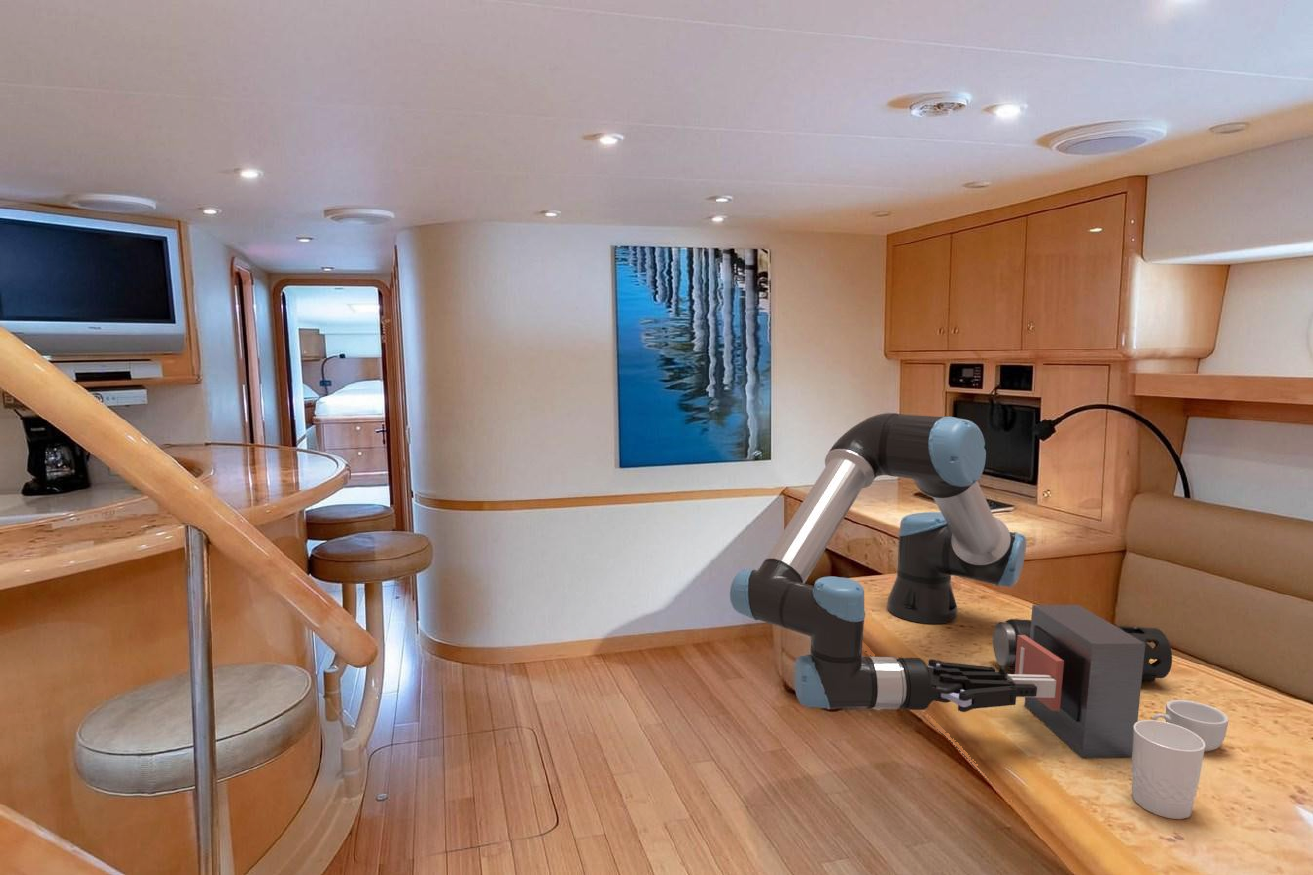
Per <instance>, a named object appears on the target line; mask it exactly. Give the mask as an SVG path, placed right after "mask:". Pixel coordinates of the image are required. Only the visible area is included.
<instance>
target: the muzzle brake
mask: <svg viewBox="0 0 1313 875" xmlns="http://www.w3.org/2000/svg"><path fill="white" fill-rule="evenodd" d="M1115 626H1116V627H1118V628H1119V629H1121V630H1123V631H1125V632H1126V633H1128V634H1130V635H1132V636H1133V637H1135V638H1137V639H1138V640H1140V641H1142V642H1144V643H1145V652H1144V662H1143V672H1142V681H1144V682H1145V681H1146V682H1155V680H1156V679H1164V678H1166V677H1167V676H1168V675H1169V673H1170V671H1171V668H1172V665H1173V664H1172V663H1173V652H1172V647H1171V644H1170V642H1169V639H1168V637H1167V636H1166V634H1165V633H1164V632H1163V631H1162V630H1161V629H1160V628H1157V627H1143V626H1125V625H1124V626H1122V625H1115ZM1030 629H1031V619H1020V618H1019V619H1014V618H1010V619H1007V620H1006V621H1004V622H1003V621H998V622H997V623H996V624H995V626H994V628H993V632H992V647H993V648H992V650H993V653H994V657H995V660H996V662H997V664H998V666H999V667H1002V668H1008V670H1011V671H1012V672H1015V663H1016V651H1017V638H1018V635H1026V636H1027V637H1029V638H1030ZM1150 643H1153V644H1154V646H1151V645H1150ZM1150 660H1154V661H1153V662H1150Z"/></svg>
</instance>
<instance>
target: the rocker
mask: <svg viewBox="0 0 1313 875" xmlns="http://www.w3.org/2000/svg"><path fill="white" fill-rule="evenodd" d="M1063 667H1064V661H1063V660H1062V659H1060V658H1059V657H1057V656H1056V655H1054V654H1053V653H1051V652H1050V651H1048V650H1047V649H1045V648H1044V647H1042V646H1041V645H1039V644H1038V643H1036V642H1035V641H1033V640H1032V639H1030V638H1029V637H1027V636H1026V635H1018V638H1017V651H1016V663H1015V671H1014V674H1026V675H1050V676H1051V677H1052V679H1055V680H1056V690H1055V698H1039V697H1035V698H1036V699H1038V700H1039V701H1040V702H1042V703H1043V704H1044V705H1045V706H1047V707H1048V708H1049V709H1051V710H1052V711H1060V702H1061V690H1062V679H1063Z"/></svg>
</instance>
